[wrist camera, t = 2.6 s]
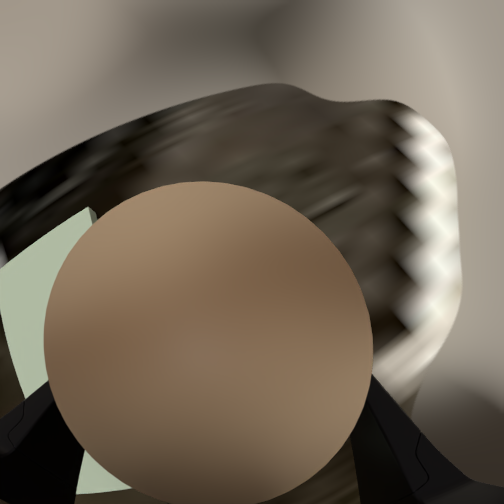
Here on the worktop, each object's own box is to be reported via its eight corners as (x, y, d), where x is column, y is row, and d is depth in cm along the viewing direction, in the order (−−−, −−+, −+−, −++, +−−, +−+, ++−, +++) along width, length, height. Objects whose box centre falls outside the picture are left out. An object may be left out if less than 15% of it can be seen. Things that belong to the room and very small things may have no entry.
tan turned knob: (314, 363, 17) (421, 415, 5) (211, 412, 16) (132, 528, 4) (262, 264, 19) (267, 135, 6) (162, 312, 18) (18, 268, 6)
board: (204, 464, 15) (201, 472, 14) (82, 488, 14) (75, 494, 13) (95, 212, 20) (88, 206, 19) (3, 276, 19) (-6, 273, 18)
